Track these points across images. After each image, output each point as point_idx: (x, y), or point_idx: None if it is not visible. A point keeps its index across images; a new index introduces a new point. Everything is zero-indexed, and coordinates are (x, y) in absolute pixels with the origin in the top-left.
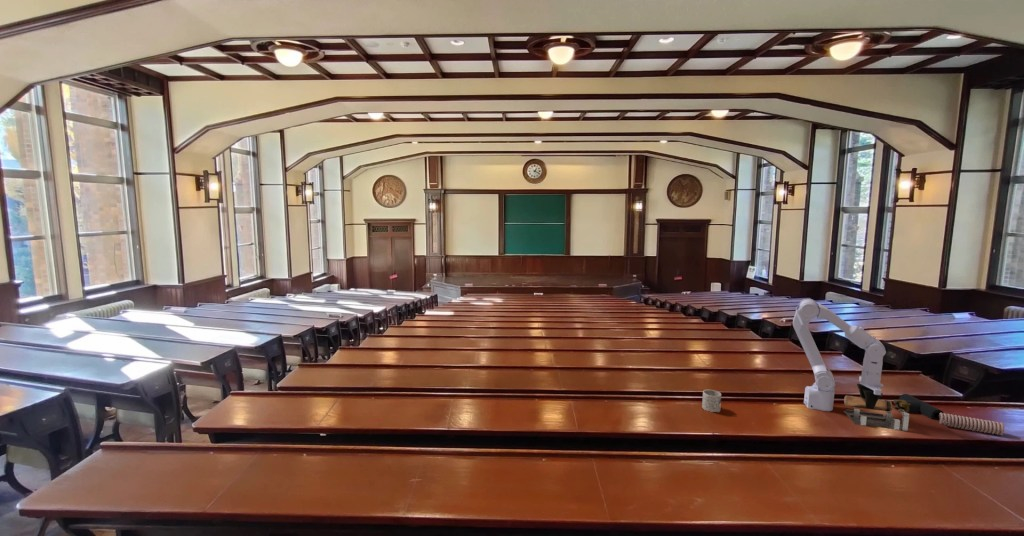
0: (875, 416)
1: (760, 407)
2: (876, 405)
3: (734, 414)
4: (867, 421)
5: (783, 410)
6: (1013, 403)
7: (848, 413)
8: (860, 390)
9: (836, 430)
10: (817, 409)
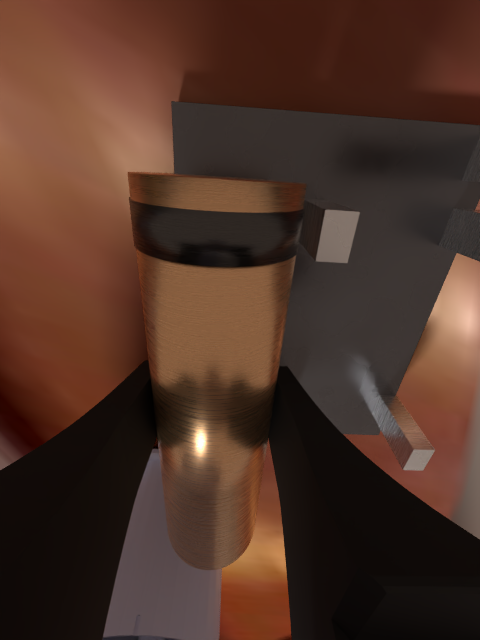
0: None
1: (235, 602)
2: (278, 363)
3: None
4: (330, 364)
5: (241, 569)
6: None
7: None
8: (115, 577)
9: (412, 489)
10: None
